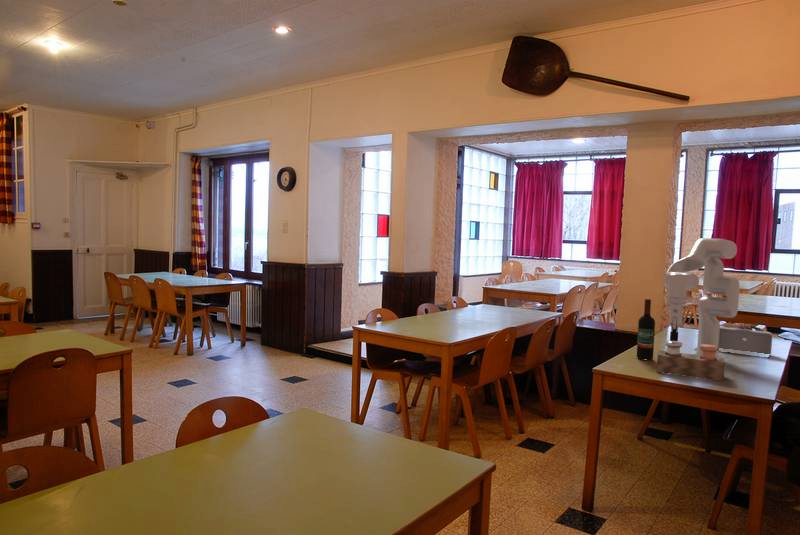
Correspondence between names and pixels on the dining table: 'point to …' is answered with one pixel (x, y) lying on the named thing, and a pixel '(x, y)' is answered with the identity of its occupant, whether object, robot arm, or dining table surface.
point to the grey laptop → (754, 342)
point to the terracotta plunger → (708, 351)
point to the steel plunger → (673, 348)
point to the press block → (691, 365)
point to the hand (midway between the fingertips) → (673, 340)
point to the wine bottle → (646, 333)
